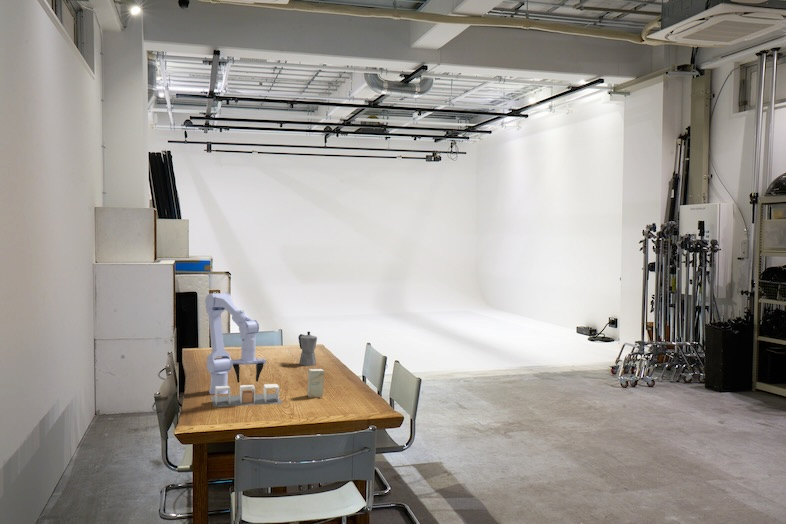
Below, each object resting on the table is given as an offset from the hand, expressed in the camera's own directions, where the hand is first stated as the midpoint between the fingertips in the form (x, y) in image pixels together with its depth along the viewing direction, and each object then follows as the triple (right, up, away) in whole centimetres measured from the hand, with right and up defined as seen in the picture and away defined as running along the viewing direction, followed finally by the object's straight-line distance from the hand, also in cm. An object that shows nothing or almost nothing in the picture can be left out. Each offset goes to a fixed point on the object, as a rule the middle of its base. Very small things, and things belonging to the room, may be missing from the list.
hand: (247, 381), depth 277 cm
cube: (0, -8, 0) cm, 8 cm away
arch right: (+9, -9, +4) cm, 13 cm away
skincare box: (+27, -10, +14) cm, 32 cm away
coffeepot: (+13, -6, +86) cm, 87 cm away
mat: (-1, -9, +3) cm, 9 cm away
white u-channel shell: (0, -8, 0) cm, 8 cm away
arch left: (-10, -8, -3) cm, 13 cm away
